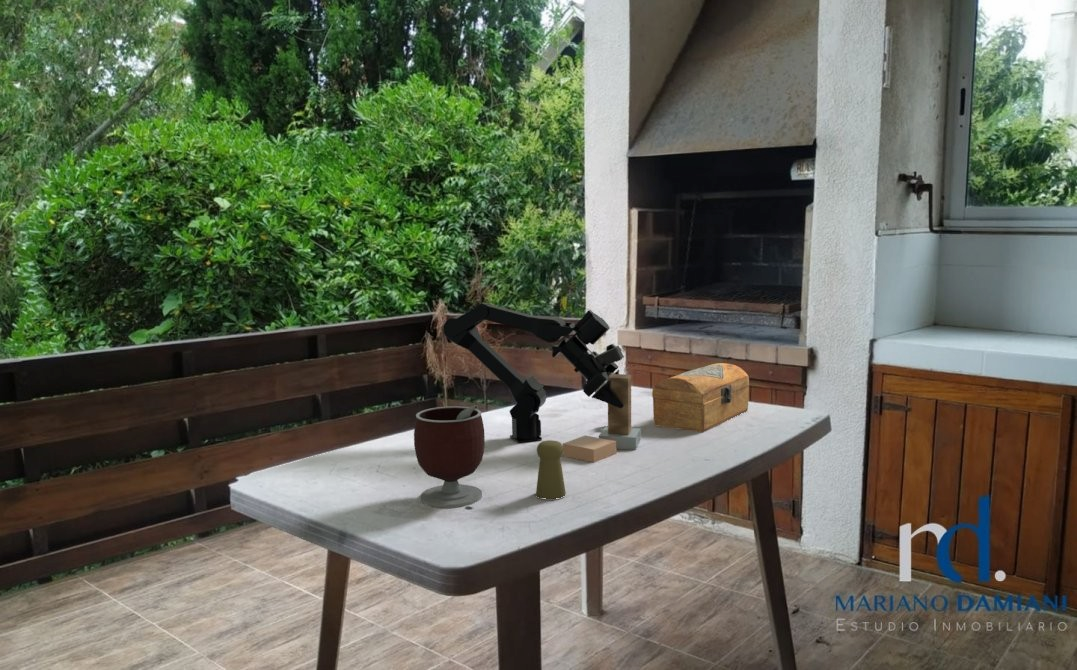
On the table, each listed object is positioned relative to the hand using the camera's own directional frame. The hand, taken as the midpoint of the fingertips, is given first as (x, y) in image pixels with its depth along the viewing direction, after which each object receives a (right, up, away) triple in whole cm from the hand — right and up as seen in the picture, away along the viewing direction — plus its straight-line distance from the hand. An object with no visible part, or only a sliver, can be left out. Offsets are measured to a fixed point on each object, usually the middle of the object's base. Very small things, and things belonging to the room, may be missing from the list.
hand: (625, 403), depth 192 cm
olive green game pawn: (-19, -16, -35) cm, 43 cm away
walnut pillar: (-1, -7, +1) cm, 7 cm away
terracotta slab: (-9, -12, -7) cm, 16 cm away
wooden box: (+25, -7, +27) cm, 37 cm away
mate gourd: (-38, -16, -36) cm, 55 cm away
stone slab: (-1, -10, +2) cm, 10 cm away
